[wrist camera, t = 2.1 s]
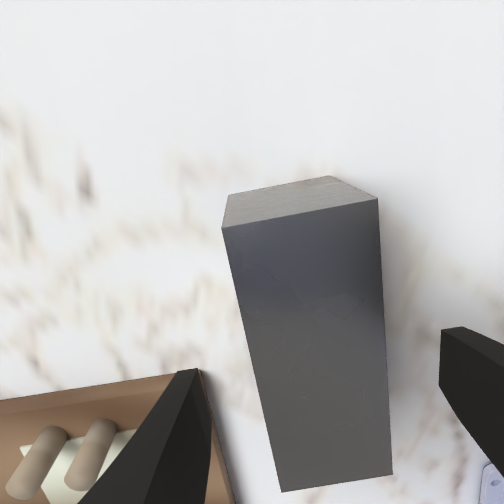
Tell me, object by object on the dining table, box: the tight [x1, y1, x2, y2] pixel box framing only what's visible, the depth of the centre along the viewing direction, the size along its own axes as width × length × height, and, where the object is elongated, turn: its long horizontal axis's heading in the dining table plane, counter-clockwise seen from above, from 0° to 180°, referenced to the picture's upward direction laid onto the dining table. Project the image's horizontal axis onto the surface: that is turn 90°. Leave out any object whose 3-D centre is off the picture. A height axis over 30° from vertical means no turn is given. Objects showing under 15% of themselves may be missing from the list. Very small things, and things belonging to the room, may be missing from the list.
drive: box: [221, 176, 393, 493], centre depth 12 cm, size 10×4×5 cm, turn 11°
